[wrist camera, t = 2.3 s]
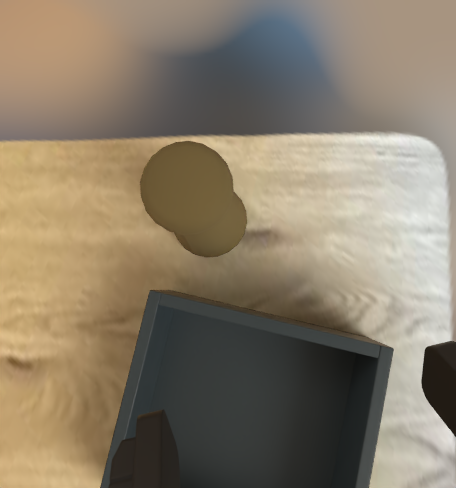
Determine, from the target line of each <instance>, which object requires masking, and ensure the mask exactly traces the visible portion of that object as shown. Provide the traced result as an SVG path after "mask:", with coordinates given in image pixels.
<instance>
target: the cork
mask: <svg viewBox="0 0 456 488" xmlns="http://www.w3.org/2000/svg"><path fill="white" fill-rule="evenodd" d="M140 186H141V198H142V201H143V203H144V206H145V209H146V211H147V213H148V214H149V215H150V216H151V218H152V219H153V220H154V221H155V223H157V224H159V225H160V226H162V227H163V228H165V229H166V230H168V231H170V232H173V233H175V235H176V237H177V239H178V240H179V242H180V243H181V244H182V245H183V246H184V248H185V249H187V250H189V251H190V252H192V253H193V254H195V255H199V256H204V257H214V256H220V255H222V254H224V253H227V252H229V251H230V250H231V249H233V248H234V247H235V246H236V245H237V244H238V243H239V241H240V240H241V238H242V237H243V235H244V232H245V228H246V224H247V217H246V210H245V207H244V205H243V203H242V200H241V199H240V198H239V197H238V196H237V195H236V194H235V192H234V191H233V179H232V175H231V173H230V170H229V168H228V165H227V163H226V162H225V161H224V160H223V159H222V157H221V156H220V155H219V154H218V153H217V152H216V151H214V150H212V149H211V148H209V147H207V146H206V145H204V144H201V143H196V142H191V141H185V142H175V143H173V144H170V145H168V146H166V147H163V148H162V149H161V150H159V151H158V152H157V153H156V154H155V155H153V156H152V157H151V159H150V160H149V162H148V163H147V165H146V166H145V168H144V171H143V174H142V178H141V181H140Z"/></svg>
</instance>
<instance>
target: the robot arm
mask: <svg viewBox="0 0 456 488" xmlns="http://www.w3.org/2000/svg"><path fill="white" fill-rule="evenodd" d="M422 388H423V392H424V394H425V397H426V398H427V400H428V402H429V403H430V405H431V406H432V407H433V408H434V410H435V411H436V412H437V414H438V415H439V416H440V417H441V419H442V420H443V421H444V423H445V424H446V425H447V426H448V428H449V429H450V430H451V431H452V433H453V434H454V435H455V437H456V342H454V341H449V342H445V343H440V344H436V345H432V346H428V347H427V348H426V349H425V354H424V363H423V372H422ZM109 481H110V484H109V487H108V488H180V470H179V457H178V450H177V445H176V442H175V439H174V436H173V433H172V430H171V427H170V424H169V421H168V418H167V415H166V413H165V410H164V409H163V410H159V411H154V412H150V413H146V414H142V415H139V416H138V417H137V423H136V436H135V437H133V438H129V439H125V440H122V441H121V443H120V445H119V447H118V449H117V451H116V453H115V455H114V457H113V459H112V464H111V472H110V479H109Z"/></svg>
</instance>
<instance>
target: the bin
mask: <svg viewBox="0 0 456 488" xmlns="http://www.w3.org/2000/svg"><path fill="white" fill-rule="evenodd" d="M392 355H393V348H391V347H389V346H387V345H384V344H382V343H380V342H377V341H375V340H372V339H370V338H368V337H364V336H360V335H356V334H351V333H347V332H343V331H339V330H335V329H330V328H326V327H322V326H318V325H314V324H309V323H305V322H301V321H297V320H293V319H288V318H284V317H280V316H276V315H272V314H267V313H263V312H259V311H255V310H251V309H246V308H242V307H238V306H234V305H230V304H225V303H221V302H217V301H213V300H209V299H204V298H200V297H196V296H192V295H188V294H183V293H179V292H175V291H171V290H150V292H149V296H148V300H147V304H146V307H145V311H144V315H143V319H142V323H141V327H140V331H139V335H138V339H137V343H136V347H135V351H134V355H133V359H132V363H131V367H130V371H129V375H128V379H127V383H126V387H125V391H124V395H123V399H122V403H121V407H120V411H119V415H118V419H117V423H116V427H115V431H114V435H113V439H112V443H111V447H110V451H109V455H108V459H107V463H106V467H105V471H104V475H103V479H102V483H101V487H100V488H108V487H109V484H110V481H109V479H110V472H111V464H112V459H113V457H114V455H115V453H116V451H117V449H118V447H119V445H120V443H121V441H122V440H125V439H129V438H133V437H135V436H136V423H137V417H138V416H139V415H142V414H146V413H150V412H154V411H159V410H163V409H164V410H165V413H166V415H167V418H168V421H169V424H170V427H171V430H172V433H173V436H174V439H175V442H176V445H177V450H178V457H179V470H180V488H369V484H370V478H371V473H372V467H373V462H374V456H375V450H376V445H377V439H378V434H379V428H380V423H381V417H382V411H383V406H384V400H385V395H386V389H387V383H388V378H389V372H390V367H391V361H392Z"/></svg>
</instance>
